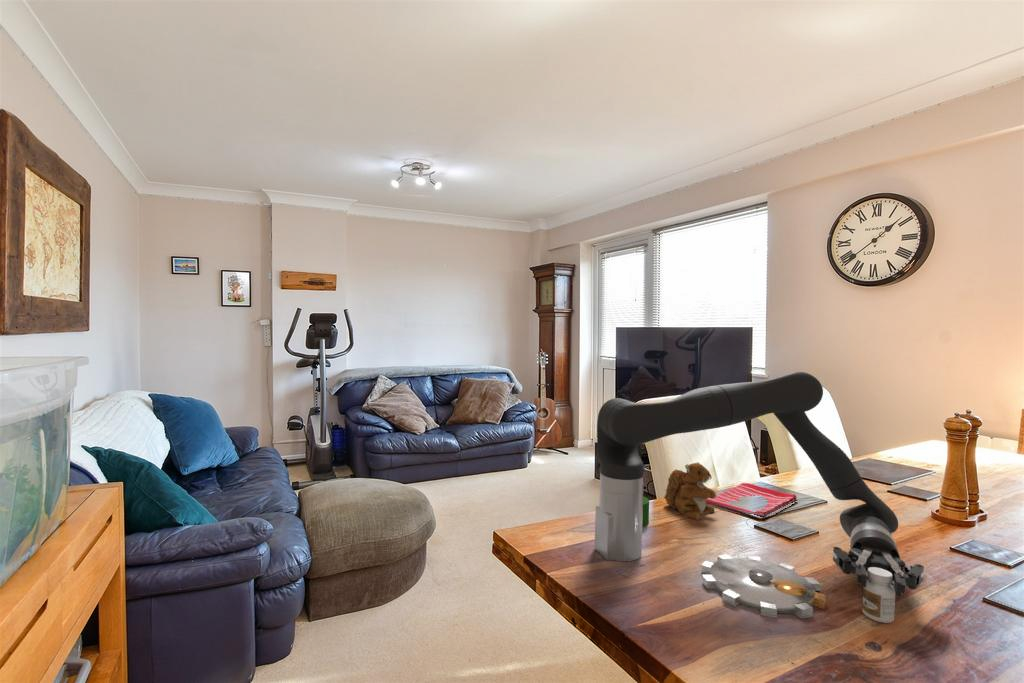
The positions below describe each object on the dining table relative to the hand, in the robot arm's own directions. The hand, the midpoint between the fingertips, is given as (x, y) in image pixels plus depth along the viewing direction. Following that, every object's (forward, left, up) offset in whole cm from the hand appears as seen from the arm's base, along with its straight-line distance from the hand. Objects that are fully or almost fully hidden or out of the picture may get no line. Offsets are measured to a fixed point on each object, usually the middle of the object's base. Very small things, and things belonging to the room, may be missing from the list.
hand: (881, 585), depth 85 cm
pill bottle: (+2, +2, -7) cm, 7 cm away
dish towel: (+23, +56, -8) cm, 61 cm away
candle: (-17, +52, -7) cm, 55 cm away
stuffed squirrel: (+2, +55, -7) cm, 56 cm away
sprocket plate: (-10, +16, -7) cm, 20 cm away
